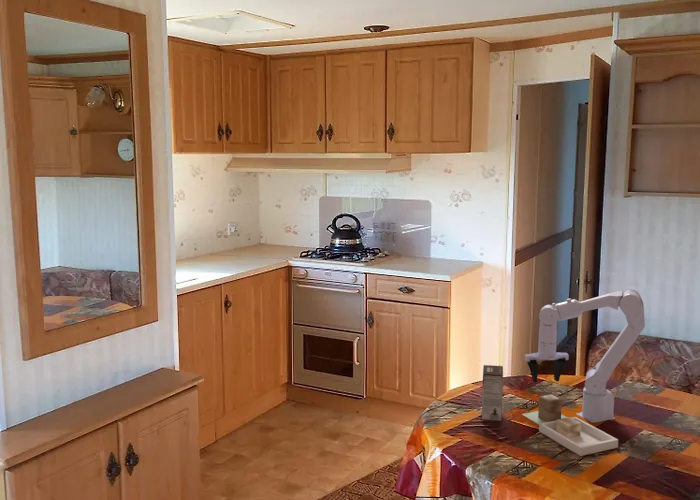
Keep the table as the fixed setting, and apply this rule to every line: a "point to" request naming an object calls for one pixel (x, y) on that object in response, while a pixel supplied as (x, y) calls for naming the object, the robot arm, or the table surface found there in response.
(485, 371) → the coffee box
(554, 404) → the labelled box
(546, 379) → the table surface
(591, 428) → the bin
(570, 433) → the plain box
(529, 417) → the tile
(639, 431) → the table surface
